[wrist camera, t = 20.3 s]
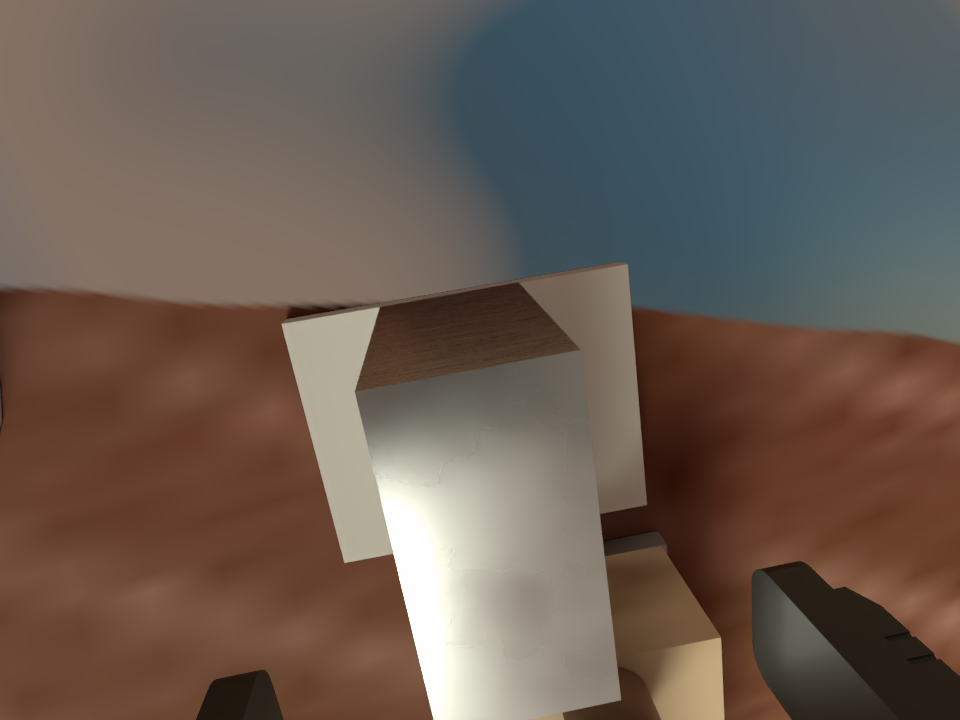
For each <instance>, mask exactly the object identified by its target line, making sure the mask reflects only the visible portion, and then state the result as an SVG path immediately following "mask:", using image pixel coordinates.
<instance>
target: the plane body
mask: <svg viewBox="0 0 960 720" xmlns="http://www.w3.org/2000/svg"><path fill="white" fill-rule="evenodd" d="M603 547H604V555H605V564H606V573H607V581H608V590H609V599H610V607H611V616H612V625H613V634H614V642H615V651H616V660H617V668H618V677H619V686H620V694H621V700H620V701H615V702H610V703H606V704H601V705H596V706H591V707H587V708H582V709H577V710H572V711H568V712H563V713H558V714H553V715H549V716H544V717H539V718H534V719H530V720H724V697H723V673H722V648H721V637H720V635H719V633H718V632H717V630H716V629H715V627H714V626H713V624H712V623H711V621H710V620H709V618H708V617H707V615H706V614H705V612H704V610H703V609H702V607H701V606H700V604H699V603H698V601H697V600H696V598H695V597H694V595H693V594H692V592H691V591H690V589H689V587H688V586H687V584H686V583H685V581H684V580H683V578H682V577H681V575H680V574H679V572H678V571H677V569H676V568H675V566H674V564H673V563H672V561H671V560H670V558H669V557H668V553H667V544H666V542H665V541H664V539H663V538H662V536H661V535H660V533H659V532H658V531H655V532H649V533H644V534H639V535H634V536H629V537H624V538H618V539H613V540H608V541H603Z"/></svg>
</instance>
